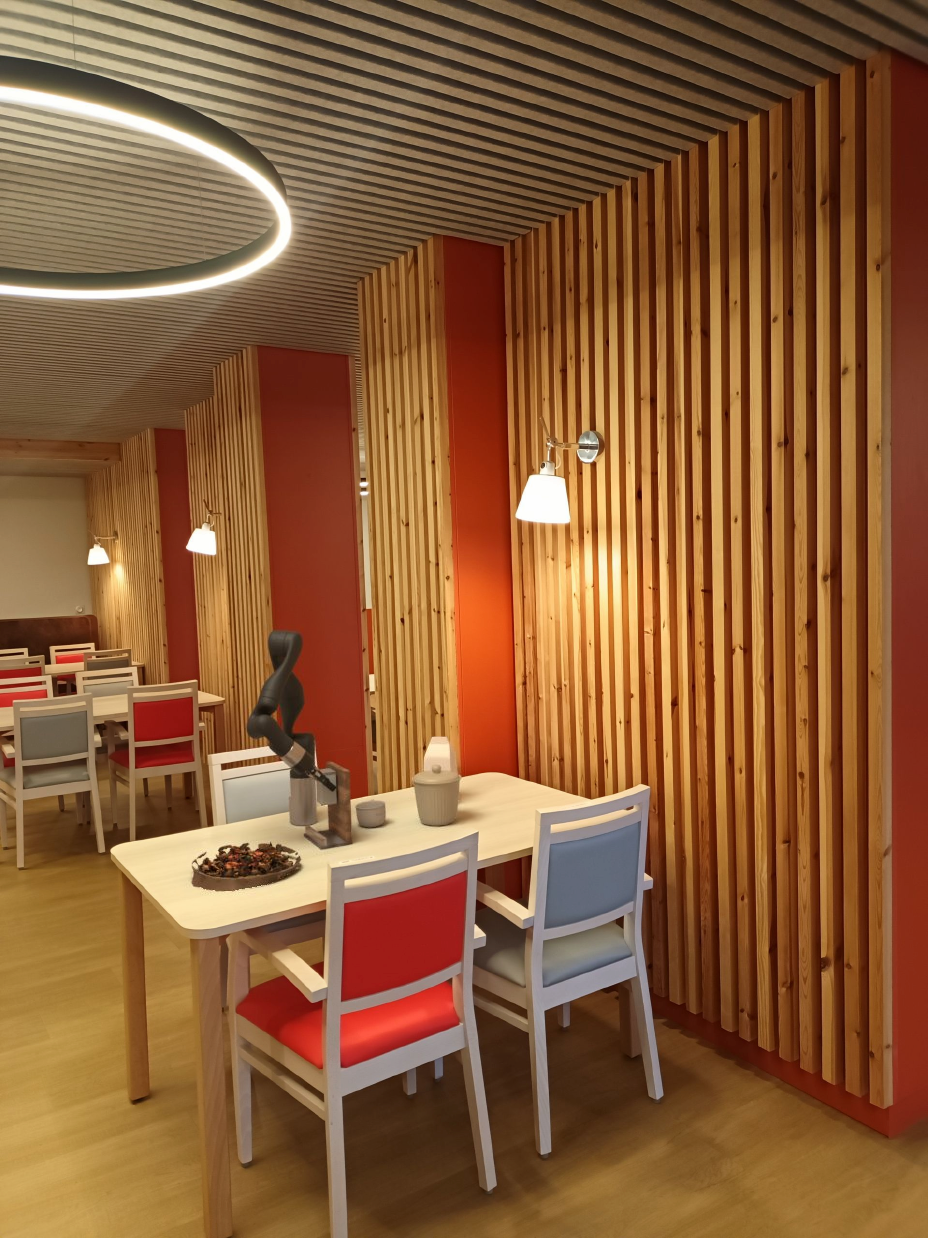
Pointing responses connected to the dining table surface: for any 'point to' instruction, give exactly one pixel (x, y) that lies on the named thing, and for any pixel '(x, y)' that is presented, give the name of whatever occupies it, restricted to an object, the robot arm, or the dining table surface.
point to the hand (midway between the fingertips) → (331, 787)
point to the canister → (437, 795)
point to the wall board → (335, 815)
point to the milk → (440, 755)
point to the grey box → (322, 791)
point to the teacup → (371, 813)
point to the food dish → (243, 867)
